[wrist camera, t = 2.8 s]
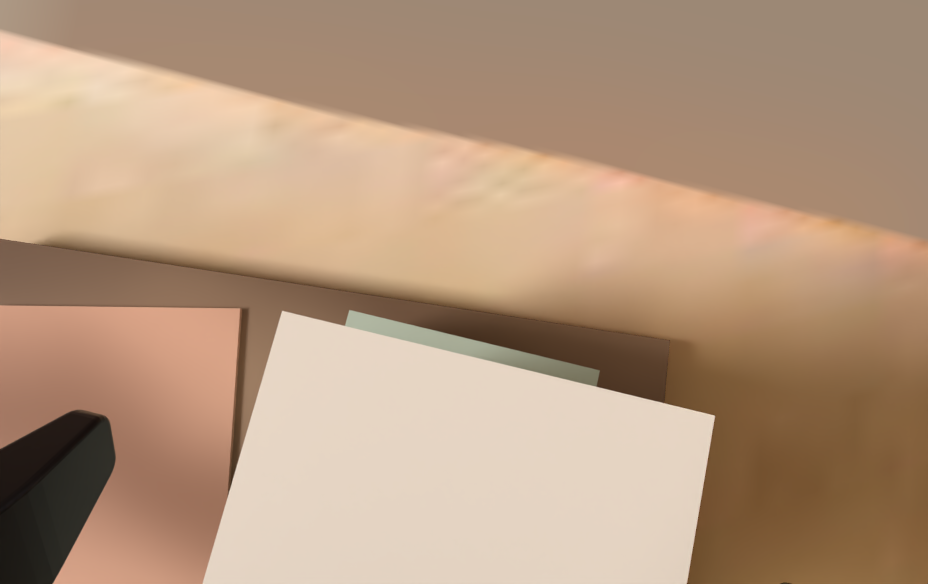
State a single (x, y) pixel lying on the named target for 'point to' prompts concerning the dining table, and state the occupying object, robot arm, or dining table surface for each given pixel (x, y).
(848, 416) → the dining table surface
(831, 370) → the dining table surface
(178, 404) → the walnut board
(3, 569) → the robot arm
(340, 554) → the tall beige block
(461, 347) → the slot box
